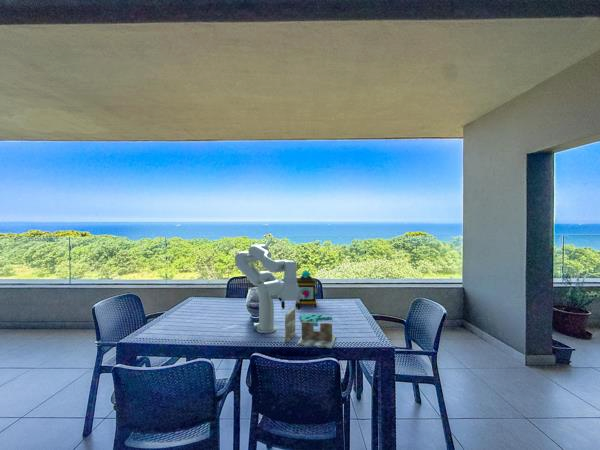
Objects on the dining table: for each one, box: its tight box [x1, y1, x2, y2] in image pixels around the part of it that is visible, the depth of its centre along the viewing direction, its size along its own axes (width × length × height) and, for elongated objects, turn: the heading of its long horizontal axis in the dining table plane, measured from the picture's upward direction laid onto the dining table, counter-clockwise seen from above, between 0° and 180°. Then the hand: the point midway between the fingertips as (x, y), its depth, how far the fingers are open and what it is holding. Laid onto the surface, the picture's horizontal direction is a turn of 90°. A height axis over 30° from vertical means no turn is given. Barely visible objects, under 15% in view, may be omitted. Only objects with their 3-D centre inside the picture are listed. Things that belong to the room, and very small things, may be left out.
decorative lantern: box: [294, 270, 318, 309], centre depth 277 cm, size 20×20×30 cm
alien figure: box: [298, 313, 333, 327], centre depth 235 cm, size 20×2×20 cm
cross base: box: [296, 321, 337, 349], centre depth 192 cm, size 20×18×11 cm
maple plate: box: [284, 307, 296, 343], centre depth 198 cm, size 2×16×16 cm, turn 166°
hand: (291, 308), depth 198 cm, fingers open, 9 cm apart
